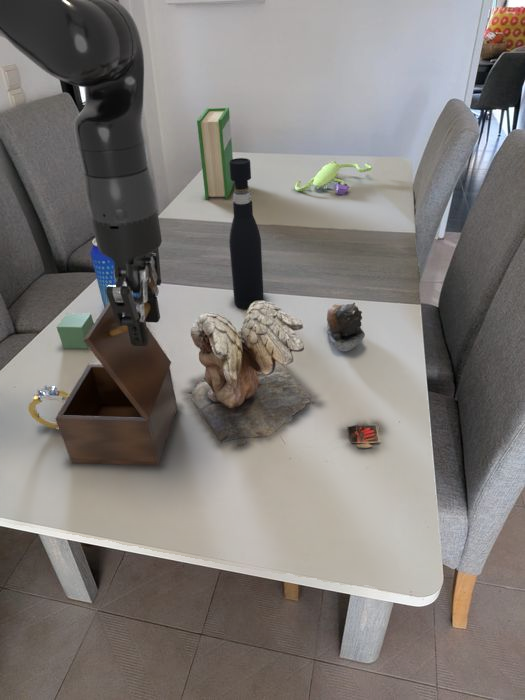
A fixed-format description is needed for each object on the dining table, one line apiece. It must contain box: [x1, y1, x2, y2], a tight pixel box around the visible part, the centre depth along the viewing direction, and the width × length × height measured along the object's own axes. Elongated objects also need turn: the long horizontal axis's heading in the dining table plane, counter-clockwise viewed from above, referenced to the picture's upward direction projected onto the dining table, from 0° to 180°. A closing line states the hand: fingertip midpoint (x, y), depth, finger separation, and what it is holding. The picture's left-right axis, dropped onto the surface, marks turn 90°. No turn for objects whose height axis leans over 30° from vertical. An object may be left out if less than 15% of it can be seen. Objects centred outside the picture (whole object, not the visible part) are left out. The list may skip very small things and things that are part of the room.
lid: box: [84, 302, 172, 420], centre depth 70 cm, size 14×13×5 cm
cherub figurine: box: [186, 300, 315, 448], centre depth 81 cm, size 18×18×18 cm
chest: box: [55, 363, 178, 467], centre depth 78 cm, size 13×13×9 cm
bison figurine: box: [326, 302, 366, 352], centre depth 96 cm, size 12×7×10 cm, turn 3°
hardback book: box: [196, 107, 235, 200], centre depth 168 cm, size 18×7×24 cm, turn 176°
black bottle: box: [228, 157, 265, 310], centre depth 104 cm, size 6×6×30 cm
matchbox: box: [346, 423, 380, 449], centre depth 78 cm, size 5×5×1 cm
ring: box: [27, 384, 70, 431], centre depth 80 cm, size 7×3×8 cm, turn 86°
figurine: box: [294, 160, 373, 195], centre depth 173 cm, size 18×27×6 cm
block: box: [56, 312, 95, 350], centre depth 101 cm, size 5×5×5 cm
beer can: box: [90, 237, 140, 309], centre depth 108 cm, size 8×8×16 cm
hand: (146, 331), depth 69 cm, fingers closed on lid, 5 cm apart
